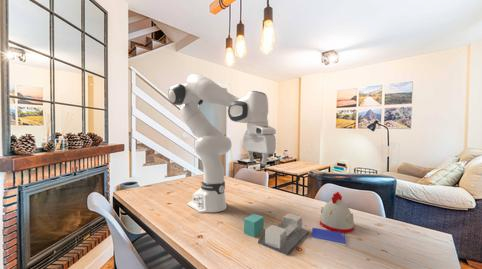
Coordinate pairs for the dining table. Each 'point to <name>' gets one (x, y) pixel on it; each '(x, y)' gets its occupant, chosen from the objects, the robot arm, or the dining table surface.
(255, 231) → the block
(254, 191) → the dining table surface
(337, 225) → the kitchen timer
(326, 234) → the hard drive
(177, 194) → the dining table surface
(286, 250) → the rail panel
